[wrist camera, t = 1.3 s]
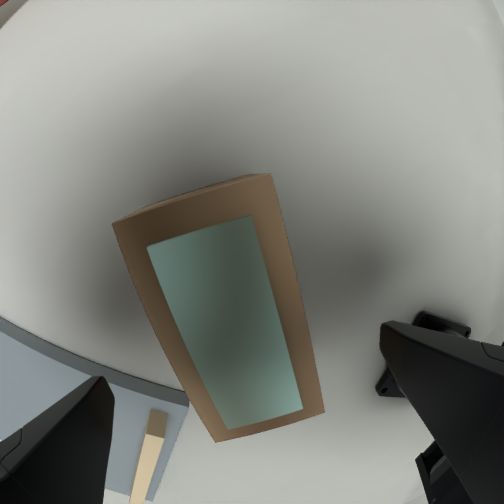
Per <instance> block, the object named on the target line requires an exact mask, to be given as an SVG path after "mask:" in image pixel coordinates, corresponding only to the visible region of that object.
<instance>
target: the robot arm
mask: <svg viewBox="0 0 504 504" xmlns="http://www.w3.org/2000/svg"><path fill="white" fill-rule="evenodd" d="M423 320H424V321H423ZM470 333H471V328H470V327H468V326H467V325H464V324H461V323H458V322H455V321H452V320H449V319H447V318H444V317H441V316H438V315H435V314H432V313H429V312H426V311H423V312H421V313H420V314H419V315H418V317H417V319H416V321H415V323H414V325H409V324H405V323H401V322H397V321H393V320H392V321H388V322H385V323H383V324H382V325H381V327H380V342H379V347H380V351H381V353H382V355H383V357H384V358H385V360H386V362H387V364H388V366H389V368H388V370H387V371H386V373H385V375H384V376H383V378H382V379H381V381H380V382H379V384H378V385H377V387H376V392H377V394H378V395H379V396H387V397H405V398H407V399H408V400H409V402H410V403H411V404H412V406H413V407H414V409H415V410H416V412H417V413H418V415H419V416H420V418H421V419H422V421H423V422H424V424H425V425H426V427H427V428H428V430H429V431H430V433H431V434H432V436H433V437H434V439H435V441H434V442H433V443H432V444H431V445H430V446H429V447H428V448H427V449H426V450H425V451H424V452H423V453H421V454H420V455H419V456H418V457H417V458H416V459H415V461H416V464H417V467H418V470H419V474H420V477H421V480H422V483H423V486H424V490H425V493H426V496H427V500H428V503H429V504H504V342H503V343H502V345H501V346H498V345H493V344H488V343H484V342H481V343H480V342H479V341H475V340H471V339H468V337H469V335H470ZM114 407H115V397H114V394H113V392H112V390H111V388H110V386H109V384H108V382H107V380H106V378H105V377H104V376H92V377H90V378H89V379H87V380H86V381H85V382H83V383H82V384H81V385H79V386H78V387H76V388H75V389H74V390H72V391H71V392H70V393H68V394H67V395H65V396H64V397H63V398H61V399H60V400H59V401H57V402H56V403H54V404H53V405H52V406H50V407H49V408H48V409H46V410H45V411H43V412H42V413H41V414H39V415H38V416H37V417H35V418H34V419H32V420H31V421H30V422H28V423H27V424H25V425H24V426H23V428H20V429H18V430H17V431H16V432H14V433H13V434H11V435H10V436H9V437H7V438H6V439H4V440H3V441H1V442H0V504H103V497H104V489H105V481H106V474H107V467H108V461H109V454H110V448H111V442H112V434H113V419H114Z"/></svg>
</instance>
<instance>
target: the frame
mask: <svg viewBox="0 0 504 504" xmlns="http://www.w3.org/2000/svg"><path fill="white" fill-rule="evenodd" d="M112 226H113V229H114V232H115V235H116V238H117V241H118V243H119V246H120V249H121V252H122V254H123V257H124V260H125V262H126V265H127V268H128V270H129V273H130V275H131V278H132V280H133V283H134V285H135V288H136V290H137V293H138V295H139V297H140V300H141V302H142V305H143V307H144V309H145V311H146V314H147V316H148V318H149V320H150V323H151V325H152V327H153V329H154V331H155V334H156V336H157V338H158V340H159V342H160V344H161V346H162V348H163V350H164V352H165V354H166V356H167V358H168V360H169V362H170V364H171V366H172V368H173V370H174V372H175V374H176V376H177V378H178V380H179V381H180V383H181V385H182V387H183V389H184V391H185V392H186V394H187V396H188V398H189V400H190V401H191V403H192V405H193V407H194V408H195V410H196V412H197V414H198V415H199V417H200V419H201V420H202V422H203V424H204V425H205V427H206V429H207V430H208V432H209V433H210V435H211V437H212V438H213V440H214V441H215V443H216V442H221V441H226V440H230V439H235V438H239V437H244V436H248V435H252V434H256V433H260V432H264V431H267V430H271V429H274V428H278V427H281V426H285V425H288V424H291V423H295V422H298V421H301V420H304V419H307V418H310V417H313V416H316V415H318V414H321V413H324V412H325V410H324V405H323V399H322V394H321V389H320V384H319V379H318V374H317V369H316V364H315V359H314V354H313V349H312V344H311V339H310V335H309V330H308V325H307V321H306V316H305V312H304V307H303V303H302V298H301V294H300V289H299V285H298V281H297V276H296V272H295V268H294V264H293V259H292V255H291V251H290V247H289V243H288V239H287V235H286V231H285V227H284V223H283V219H282V215H281V211H280V207H279V203H278V199H277V195H276V191H275V188H274V184H273V180H272V176H271V174H249V175H246V176H242V177H238V178H235V179H231V180H228V181H224V182H221V183H218V184H214V185H211V186H207V187H204V188H201V189H198V190H194V191H191V192H188V193H185V194H182V195H179V196H176V197H172V198H169V199H166V200H163V201H160V202H157V203H155V204H152V205H149V206H146V207H144V208H142V209H140V210H138V211H136V212H134V213H132V214H130V215H128V216H126V217H124V218H122V219H120V220H118V221H116V222H114V223H112Z"/></svg>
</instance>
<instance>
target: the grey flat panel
mask: <svg viewBox="0 0 504 504" xmlns="http://www.w3.org/2000/svg"><path fill="white" fill-rule="evenodd" d="M92 376H104V377H105V378H106V380H107V382H108V384H109V386H110V388H111V390H112V392H113V394H114V397H115V407H114V419H113V434H112V442H111V448H110V454H109V461H108V467H107V474H106V481H105V488H106V489H109V490H112V491H115V492H118V493H122V494H125V495H129V496H130V501H129V504H143V503H144V500H148V501H153V499H154V496H155V494H156V491H157V489H158V486H159V483H160V481H161V478H162V475H163V473H164V470H165V468H166V465H167V462H168V460H169V457H170V454H171V452H172V449H173V447H174V444H175V441H176V439H177V436H178V434H179V431H180V428H181V426H182V423H183V420H184V418H185V415H186V413H187V410H188V407H189V398H188V396H187V394H186V393H185V392H182V391H178V390H174V389H171V388H167V387H164V386H160V385H157V384H154V383H151V382H147V381H144V380H141V379H138V378H135V377H132V376H129V375H126V374H123V373H121V372H118V371H115V370H112V369H110V368H107V367H104V366H102V365H99V364H96V363H94V362H91V361H89V360H86V359H84V358H82V357H79V356H77V355H75V354H72V353H70V352H68V351H65V350H63V349H61V348H59V347H57V346H54V345H52V344H50V343H48V342H46V341H44V340H42V339H40V338H38V337H36V336H34V335H32V334H30V333H28V332H26V331H24V330H22V329H21V328H19V327H17V326H15V325H13V324H11V323H10V322H8V321H6V320H4V319H3V318H1V317H0V439H1V440H2V441H3V440H4V439H6V438H7V437H9V436H10V435H11V434H13V433H14V432H16V431H17V430H18V429H20V428H23V426H24V425H25V424H27V423H28V422H30V421H31V420H32V419H34V418H35V417H37V416H38V415H39V414H41V413H42V412H43V411H45V410H46V409H48V408H49V407H50V406H52V405H53V404H54V403H56V402H57V401H59V400H60V399H61V398H63V397H64V396H65V395H67V394H68V393H70V392H71V391H72V390H74V389H75V388H76V387H78V386H79V385H81V384H82V383H83V382H85V381H86V380H87V379H89V378H90V377H92Z"/></svg>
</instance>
